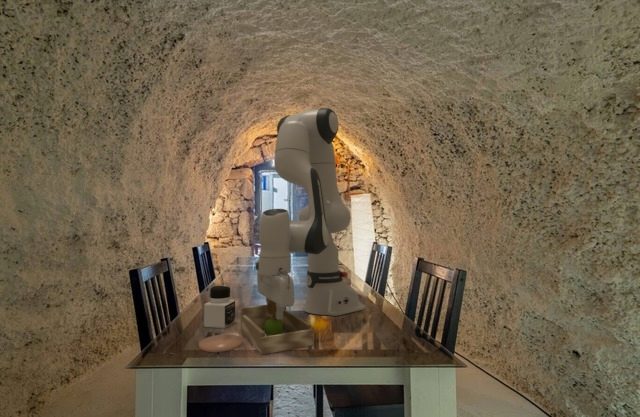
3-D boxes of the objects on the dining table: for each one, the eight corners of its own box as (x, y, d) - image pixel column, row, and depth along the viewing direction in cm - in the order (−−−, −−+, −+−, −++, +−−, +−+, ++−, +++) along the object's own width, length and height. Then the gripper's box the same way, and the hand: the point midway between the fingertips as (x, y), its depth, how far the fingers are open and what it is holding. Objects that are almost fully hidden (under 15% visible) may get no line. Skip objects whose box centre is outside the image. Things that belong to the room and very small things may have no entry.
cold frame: (285, 324, 111) (285, 302, 111) (313, 345, 93) (313, 318, 94) (240, 331, 105) (240, 307, 105) (262, 354, 87) (262, 326, 87)
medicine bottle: (225, 328, 108) (225, 288, 108) (203, 327, 109) (204, 288, 109) (235, 321, 115) (235, 284, 115) (215, 320, 116) (215, 283, 116)
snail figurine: (277, 343, 95) (278, 298, 95) (259, 338, 99) (259, 295, 99) (290, 337, 100) (290, 294, 100) (272, 332, 103) (272, 291, 103)
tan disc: (236, 335, 102) (236, 332, 102) (246, 347, 92) (246, 344, 92) (196, 341, 97) (196, 338, 97) (202, 355, 87) (202, 351, 87)
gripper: (300, 270, 92) (300, 324, 92) (273, 261, 110) (273, 306, 110) (277, 272, 89) (277, 327, 89) (253, 263, 107) (253, 309, 107)
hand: (275, 315), depth 99 cm, fingers closed on snail figurine, 5 cm apart
